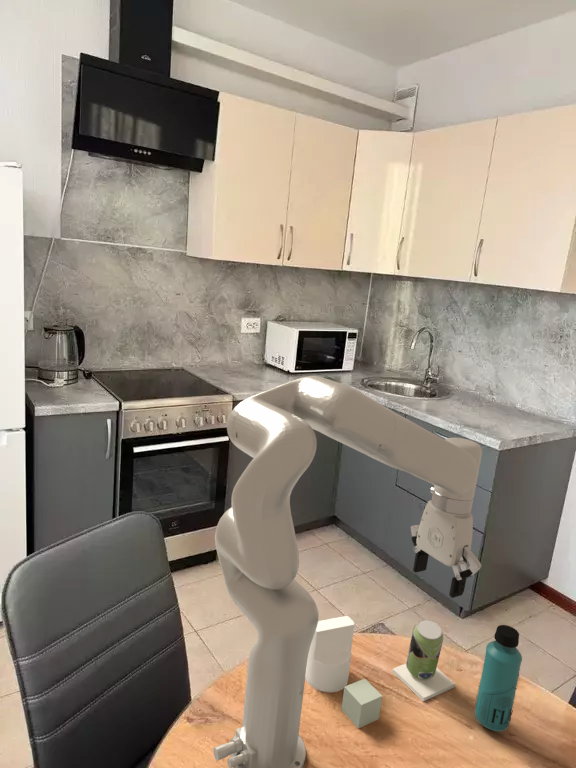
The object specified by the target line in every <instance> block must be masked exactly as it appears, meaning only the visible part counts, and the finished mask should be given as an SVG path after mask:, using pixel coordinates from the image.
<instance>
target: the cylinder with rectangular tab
mask: <svg viewBox="0 0 576 768" xmlns="http://www.w3.org/2000/svg"><path fill="white" fill-rule="evenodd" d="M354 631H355V622H354V621H353V619H351V617H349V616H348V615H345V616H339V617H338V616H337V617H333V618H328V619H324V620H318V624H317V628H316V631H315V634H314V636H313V639H312V642H311V645H310V649H309V654H308V659H307V666H306V674H305V682H307V684H308V685H309V686H310V687H312V688H313V689H315V690H317V691H320V692H323V693H337V692H339V691H342V690H344V687H345V686H347V685H348V681H349V678H350V677H349V676H350V666H351V660H352V646H353V638H354Z"/></svg>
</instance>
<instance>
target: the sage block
mask: <svg viewBox="0 0 576 768" xmlns="http://www.w3.org/2000/svg"><path fill="white" fill-rule="evenodd" d="M382 701H383V695H382V694H381V693H380V692H379V691H378V690H377V689H376V688H375V687H374V686H373V685H372V684H371V683H370V682H369V681H368V680H367V679H366V678H363V679H359V680H357V681H356V682H355V681H354V682H353V683H350V684H347V685H346V686H345V687H344V688H343V694H342V703H341V711H342V712H343V713H344V714H345V716H346V717H347V718H348V719H349V720H350V721H351V722H352V723H353V724H354V726H355V727H356V728H357V729H360V728H363V727H364V726H367V725H369V724H372V723H373V722H375V721H378V720H380V714H381V708H382Z"/></svg>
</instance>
